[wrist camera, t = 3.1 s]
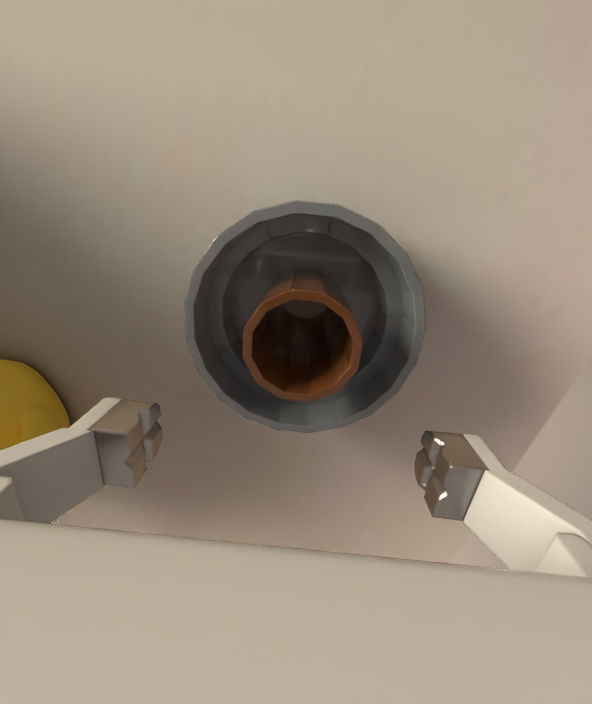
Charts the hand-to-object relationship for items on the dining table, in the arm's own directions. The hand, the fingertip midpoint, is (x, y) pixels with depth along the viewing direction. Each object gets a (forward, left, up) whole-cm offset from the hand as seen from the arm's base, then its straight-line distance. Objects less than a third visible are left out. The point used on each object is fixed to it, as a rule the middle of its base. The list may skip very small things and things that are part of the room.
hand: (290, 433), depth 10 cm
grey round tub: (0, 0, -16) cm, 16 cm away
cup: (0, 0, -15) cm, 15 cm away
